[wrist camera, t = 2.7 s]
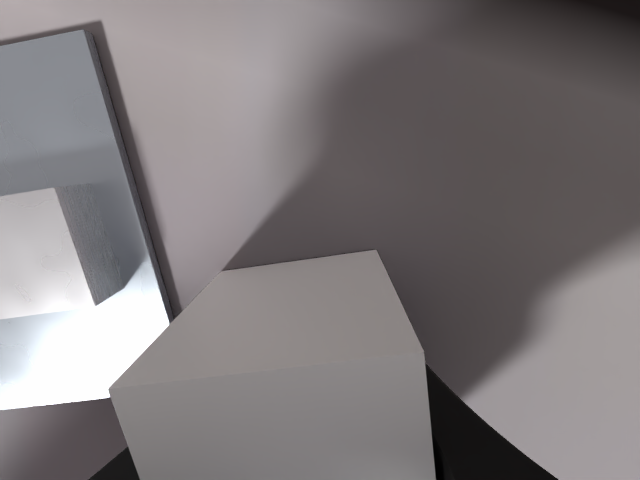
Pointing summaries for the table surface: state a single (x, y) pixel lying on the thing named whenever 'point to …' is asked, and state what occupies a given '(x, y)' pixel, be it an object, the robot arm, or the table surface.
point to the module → (283, 380)
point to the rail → (68, 231)
